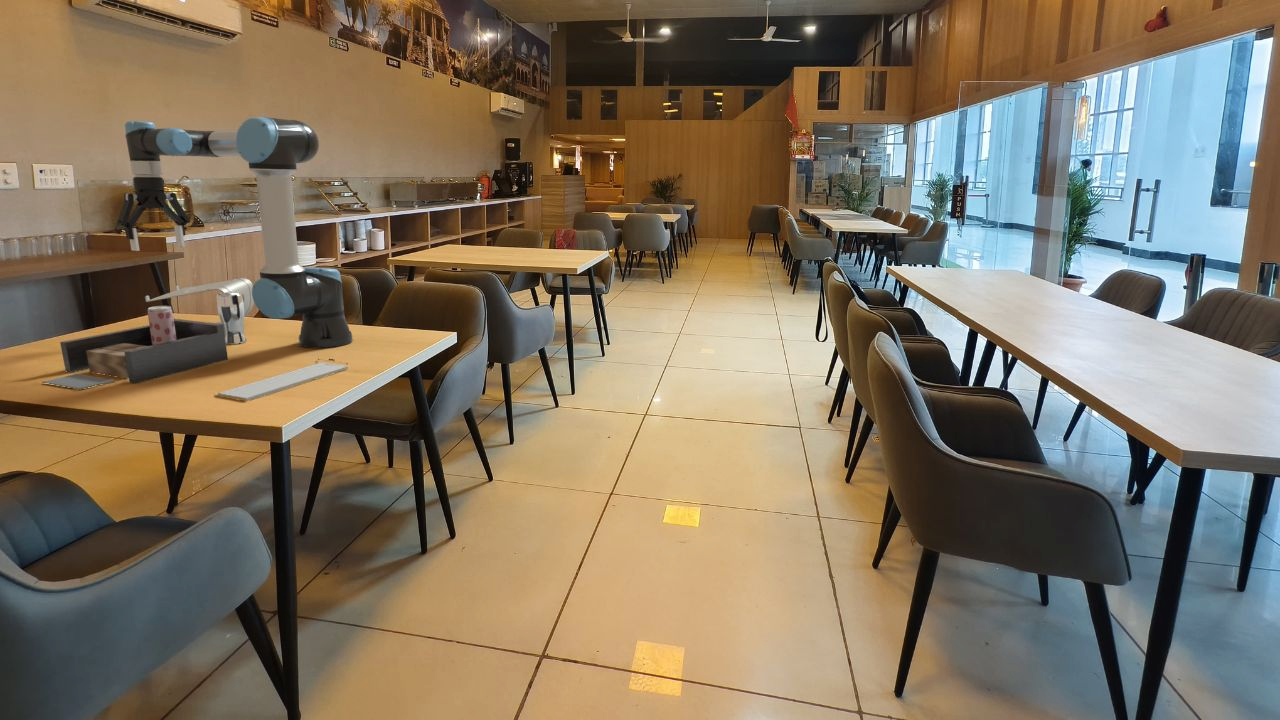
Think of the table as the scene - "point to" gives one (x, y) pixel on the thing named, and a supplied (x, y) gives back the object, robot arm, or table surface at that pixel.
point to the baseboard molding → (282, 381)
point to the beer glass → (232, 316)
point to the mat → (78, 381)
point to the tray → (154, 349)
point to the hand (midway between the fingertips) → (158, 248)
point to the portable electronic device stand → (225, 286)
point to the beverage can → (161, 324)
